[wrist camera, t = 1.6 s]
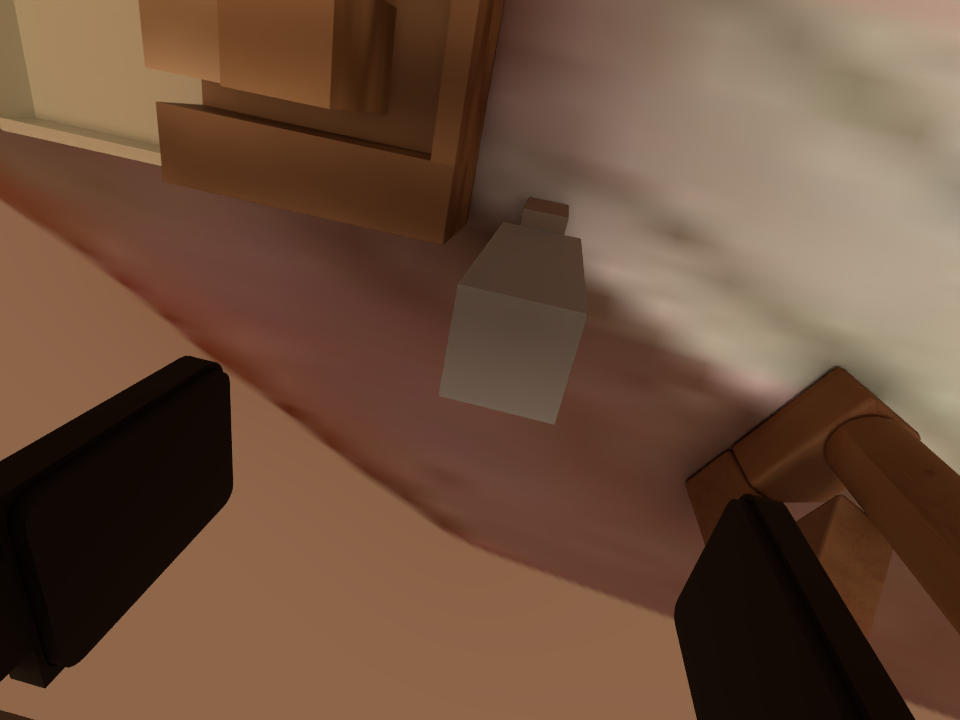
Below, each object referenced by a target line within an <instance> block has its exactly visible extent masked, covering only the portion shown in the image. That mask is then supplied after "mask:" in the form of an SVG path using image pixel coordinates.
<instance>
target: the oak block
mask: <svg viewBox="0 0 960 720" xmlns="http://www.w3.org/2000/svg"><path fill="white" fill-rule="evenodd" d="M217 12H218V36H219V61H220V85H221V86H223V87H227V88H232V89H237V90H242V91H246V92H251V93H256V94H260V95H265V96H270V97H275V98H279V99H284V100H289V101H294V102H298V103H303V104H308V105H312V106H317V107H322V108H327V109H334V110H346V111H357V112H369V113H380V114H387V110H388V99H389V88H390V77H391V66H392V55H393V44H394V33H395V22H396V12H397V8H395V7H394V6H392V5H391V4H389V3H388V2H387V1H385V0H217Z"/></svg>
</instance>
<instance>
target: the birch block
mask: <svg viewBox="0 0 960 720" xmlns="http://www.w3.org/2000/svg"><path fill="white" fill-rule="evenodd" d="M138 1H139V11H140V21H141V31H142V42H143V52H144V62H145V67H146V68H151V69H156V70H160V71H165V72H170V73H174V74H179V75H184V76H189V77H193V78H198V79H203V80H208V81H212V82H217V83H220V61H219V36H218V12H217V0H138Z"/></svg>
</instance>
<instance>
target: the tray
mask: <svg viewBox="0 0 960 720" xmlns="http://www.w3.org/2000/svg"><path fill="white" fill-rule="evenodd" d="M156 102H171V103H185V104H200V105H203V100H202V82H201V79H198V78H193V77H189V76H184V75H179V74H174V73H170V72H165V71H160V70H156V69H151V68H146V67H145V62H144V52H143V42H142V31H141V21H140V11H139V1H138V0H0V130H4V131H9V132H13V133H18V134H22V135H26V136H31V137H35V138H40V139H44V140H49V141H53V142H57V143H62V144H66V145H71V146H75V147H80V148H84V149H89V150H93V151H97V152H102V153H106V154H111V155H115V156H120V157H124V158H129V159H133V160H137V161H142V162H146V163H151V164H155V165H160V166H162V165H161V154H160V144H159V133H158V122H157V111H156Z"/></svg>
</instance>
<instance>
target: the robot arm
mask: <svg viewBox="0 0 960 720" xmlns="http://www.w3.org/2000/svg"><path fill="white" fill-rule="evenodd" d="M231 437H232V436H231V406H230V381H229V376H228V374H226V373H224V372H223V369H222V367H221V365H220V364H218V363H216V362H212V361H208V360H204V359H199V358H196V357H192V356H184V357H181V358H179V359H177V360H176V361H174V362H172V363H171V364H169V365H167V366H165V367H164V368H162V369H160V370H159V371H157V372H155V373H153V374H151V375H150V376H148V377H146V378H145V379H143V380H141V381H139V382H137V383H136V384H134V385H132V386H131V387H129V388H127V389H125V390H124V391H122V392H120V393H118V394H117V395H115V396H113V397H111V398H110V399H108V400H106V401H104V402H103V403H101V404H99V405H98V406H96V407H94V408H92V409H90V410H89V411H87V412H85V413H83V414H82V415H80V416H78V417H77V418H75V419H73V420H71V421H70V422H68V423H66V424H64V425H63V426H61V427H59V428H57V429H56V430H54V431H52V432H50V433H49V434H47V435H45V436H43V437H42V438H40V439H38V440H37V441H35V442H33V443H31V444H30V445H28V446H26V447H24V448H23V449H21V450H19V451H17V452H16V453H14V454H12V455H10V456H9V457H7V458H5V459H3V460H2V461H0V681H2V680H3V679H4V678H5V677H6V676H7V675H8V674H9V675H10V678H11V679H15V680H18V681H22V682H25V683H29V684H32V685H35V686H39V687H42V688H46V687H47V686H48V685H49V684H50V683H51V682H52V681H53V679H54V678H55V677H56V676H57V675H58V674H59V673H60V672H61V671H62V670H63V669H64V668H65V667H71V666H74V665H76V664H77V663H79V662H80V661H81V660H82V659H83V658H84V657H85V656H86V655H87V654H88V653H89V652H90V651H91V650H92V648H94V646H95V645H96V644H97V643H98V642H99V641H100V640H101V639H102V638H103V637H104V636H105V635H106V633H107V632H108V631H109V630H110V629H111V628H112V627H113V626H114V625H115V623H117V622H118V620H119V619H120V618H121V617H122V616H123V615H124V614H125V613H126V612H127V611H128V610H129V608H130V607H131V606H132V605H133V604H134V603H135V602H136V601H137V600H138V599H139V598H140V597H141V595H142V594H143V593H144V592H145V591H146V590H147V589H148V588H149V587H150V586H151V585H152V584H153V582H154V581H155V580H156V579H157V578H158V577H159V576H160V575H161V574H162V573H163V572H164V570H165V569H166V568H167V567H168V566H169V565H170V564H171V563H172V561H174V560H175V558H176V557H177V556H178V555H179V554H180V553H181V552H182V551H183V550H184V549H185V548H186V547H187V546H188V544H189V543H190V542H191V541H192V540H193V539H194V538H195V537H196V536H197V535H198V534H199V533H200V531H201V530H202V529H203V528H204V527H205V526H206V525H207V524H208V523H209V522H210V521H211V519H212V518H213V517H214V516H215V515H216V514H217V513H218V512H219V511H220V510H221V509H222V508H223V506H224V505H225V504H226V503H227V501H228V499H229V498H230V495H231V493H232V489H233V466H232V440H231V439H232V438H231ZM674 620H675V626H676V630H677V635H678V639H679V644H680V648H681V652H682V657H683V661H684V665H685V670H686V674H687V678H688V683H689V687H690V691H691V696H692V700H693V704H694V709H695V713H696V717H697V720H915V718H914V717H913V715H912V713H911V712H910V710H909V708H908V707H907V705H906V703H905V702H904V700H903V698H902V697H901V695H900V693H899V692H898V690H897V689H896V687H895V685H894V684H893V682H892V680H891V679H890V677H889V675H888V674H887V672H886V670H885V669H884V667H883V665H882V664H881V662H880V660H879V659H878V657H877V656H876V654H875V652H874V651H873V649H872V647H871V646H870V644H869V642H868V641H867V639H866V637H865V636H864V634H863V632H862V631H861V629H860V627H859V626H858V624H857V623H856V621H855V619H854V618H853V616H852V614H851V613H850V611H849V609H848V608H847V606H846V604H845V603H844V601H843V599H842V598H841V596H840V594H839V593H838V591H837V589H836V588H835V586H834V585H833V583H832V581H831V580H830V578H829V576H828V575H827V573H826V571H825V570H824V568H823V566H822V565H821V563H820V561H819V560H818V558H817V556H816V555H815V553H814V552H813V550H812V548H811V547H810V545H809V543H808V542H807V540H806V538H805V537H804V535H803V533H802V532H801V530H800V528H799V527H798V525H797V523H796V522H795V520H794V519H793V517H792V515H791V514H790V512H789V510H788V509H787V507H786V506H785V505H784V503H782V502H780V501H777V500H773V499H769V498H765V497H761V496H757V495H753V494H749V493H747V494H743V495H742V496H741V497H740V498H739V499H731V500H730V501H729V502H728V504H727V505H726V507H725V509H724V511H723V513H722V515H721V517H720V519H719V521H718V523H717V525H716V527H715V528H714V530H713V532H712V534H711V536H710V538H709V540H708V542H707V544H706V546H705V548H704V550H703V552H702V554H701V555H700V557H699V559H698V561H697V563H696V565H695V567H694V569H693V571H692V573H691V575H690V577H689V579H688V581H687V582H686V584H685V586H684V588H683V590H682V592H681V594H680V596H679V598H678V600H677V602H676V606H675V612H674ZM0 720H33V719H30V718H26V717H23V716H19V715H16V714H13V713H9V712H5V711H1V710H0Z"/></svg>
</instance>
